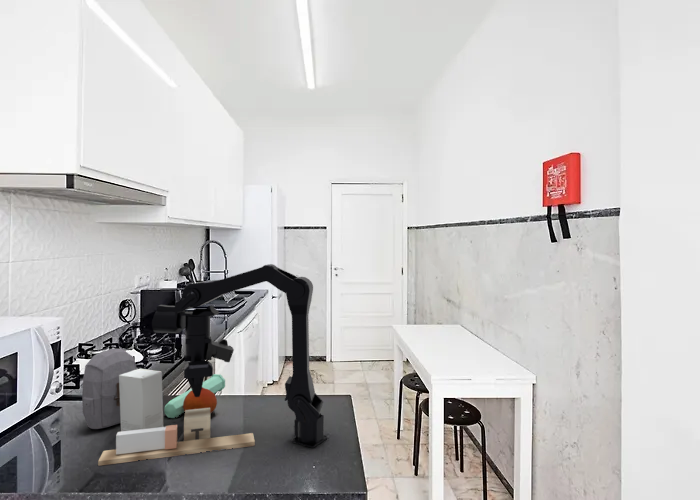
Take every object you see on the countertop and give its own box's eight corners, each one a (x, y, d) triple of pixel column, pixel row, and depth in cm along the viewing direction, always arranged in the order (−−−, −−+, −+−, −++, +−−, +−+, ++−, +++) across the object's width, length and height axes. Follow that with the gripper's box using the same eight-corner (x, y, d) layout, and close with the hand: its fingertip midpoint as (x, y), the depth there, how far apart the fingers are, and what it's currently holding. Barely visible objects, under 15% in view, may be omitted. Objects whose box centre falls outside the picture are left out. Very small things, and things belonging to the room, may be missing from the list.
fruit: (211, 422, 118) (211, 392, 118) (178, 422, 119) (178, 392, 118) (221, 410, 127) (221, 382, 127) (190, 409, 127) (191, 382, 127)
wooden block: (210, 441, 107) (210, 416, 107) (183, 444, 105) (183, 419, 105) (210, 430, 113) (210, 407, 113) (185, 433, 111) (185, 410, 111)
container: (174, 398, 120) (222, 371, 144) (156, 404, 121) (207, 376, 146) (181, 418, 120) (228, 388, 144) (164, 425, 121) (213, 393, 145)
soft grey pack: (126, 412, 125) (126, 341, 125) (148, 416, 122) (148, 344, 122) (74, 432, 111) (74, 353, 111) (97, 438, 108) (97, 357, 108)
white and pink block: (177, 442, 103) (177, 424, 103) (176, 448, 100) (176, 429, 100) (118, 449, 100) (118, 431, 99) (115, 455, 97) (115, 436, 97)
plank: (252, 437, 109) (252, 433, 109) (254, 445, 105) (254, 441, 105) (103, 455, 100) (103, 450, 100) (98, 465, 95) (98, 461, 95)
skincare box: (164, 432, 112) (164, 371, 112) (142, 443, 106) (142, 378, 106) (140, 426, 115) (140, 367, 115) (118, 436, 109) (118, 373, 109)
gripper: (235, 338, 103) (234, 405, 103) (228, 325, 120) (227, 382, 120) (184, 342, 99) (183, 411, 99) (184, 327, 116) (184, 386, 117)
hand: (197, 396), depth 109 cm, fingers closed
